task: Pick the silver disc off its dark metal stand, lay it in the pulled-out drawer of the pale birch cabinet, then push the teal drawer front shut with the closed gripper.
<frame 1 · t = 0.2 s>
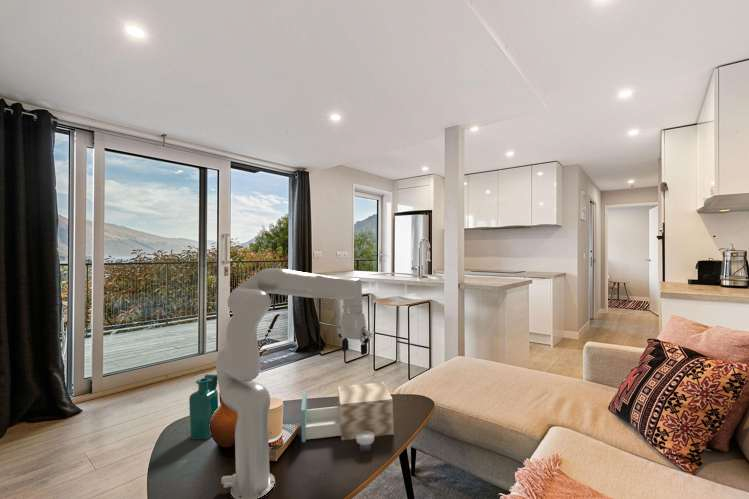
hand: (354, 352, 138), 31 cm above the table, tool pointing down, fingers open, 9 cm apart
disc: (365, 439, 123), point 3 cm above the table, touching stand
cabinet: (364, 425, 141), on the table
teal bottle vase: (206, 434, 138), on the table
stand: (365, 449, 123), on the table
drawer: (328, 412, 138), point 7 cm above the table, slide at 13.0 cm
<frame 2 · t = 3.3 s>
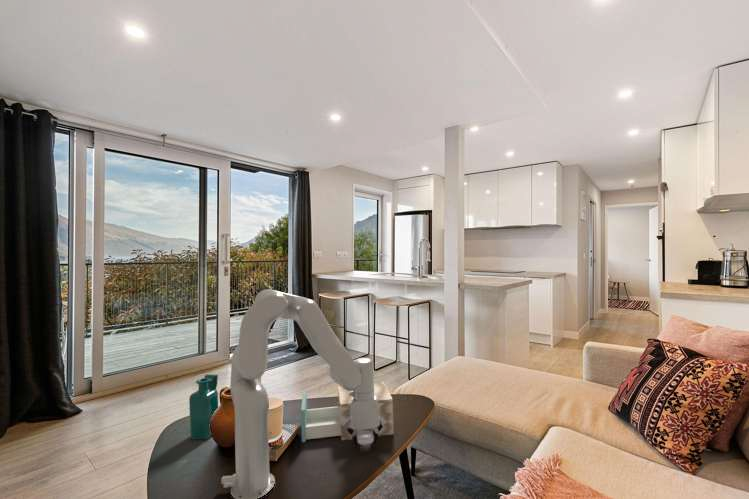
hand: (365, 444, 123), 2 cm above the table, tool pointing down, fingers closed on disc, 6 cm apart
disc: (365, 439, 123), point 4 cm above the table, touching gripper, stand
everything else where it was.
when the fingers open (2 cm above the table, at t = 10.8 s): disc drops 2 cm, resting on drawer.
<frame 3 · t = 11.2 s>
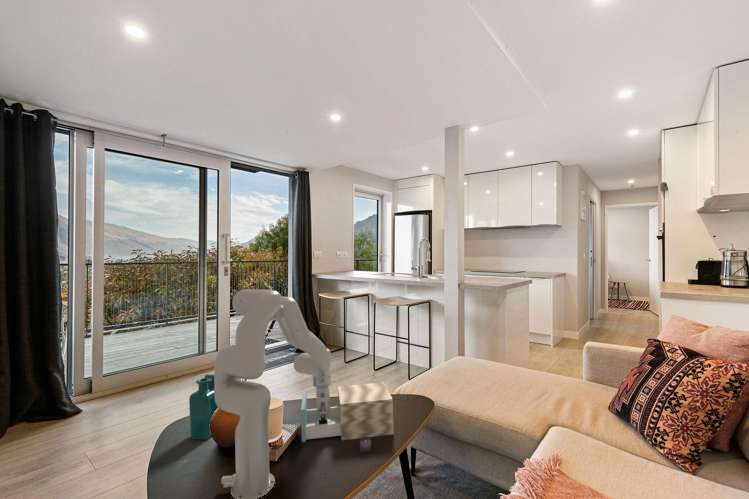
hand: (323, 423, 138), 3 cm above the table, tool pointing down, fingers open, 9 cm apart
disc: (323, 426, 138), point 2 cm above the table, touching drawer
drawer: (328, 412, 138), point 7 cm above the table, slide at 13.0 cm, touching disc
everything else where it was.
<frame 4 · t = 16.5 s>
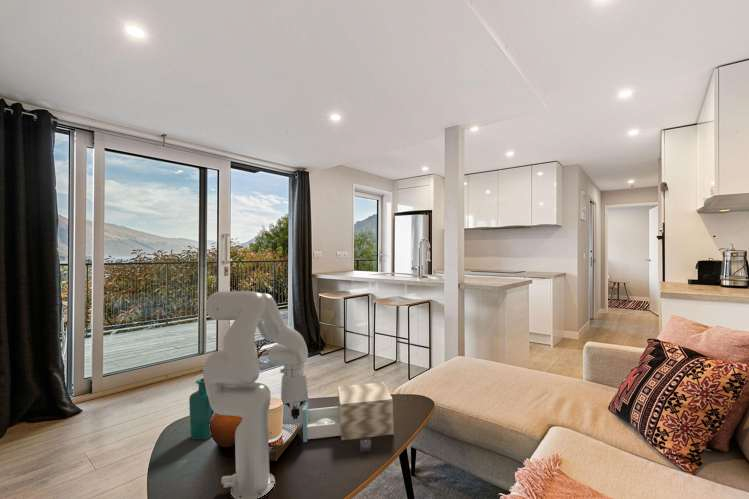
hand: (295, 417, 136), 6 cm above the table, tool pointing down, fingers closed
drawer: (329, 412, 138), point 7 cm above the table, slide at 12.5 cm, touching disc, gripper
everything else where it was.
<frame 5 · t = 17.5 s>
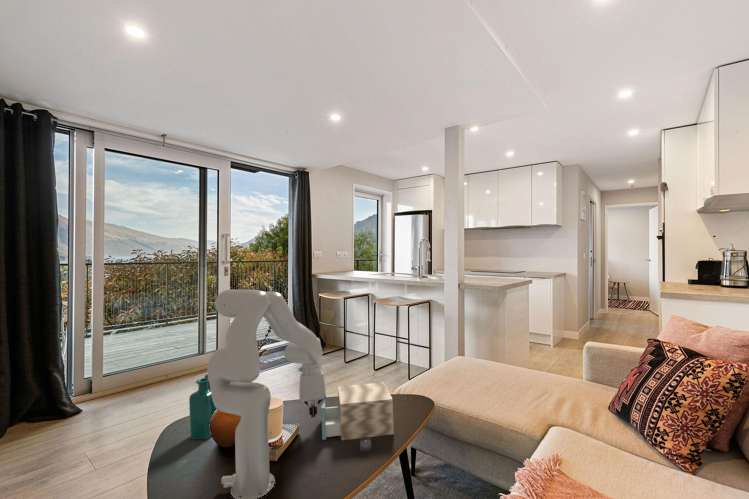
hand: (313, 415, 137), 6 cm above the table, tool pointing down, fingers closed
disc: (342, 424, 139), point 2 cm above the table, touching drawer
drawer: (346, 410, 139), point 7 cm above the table, slide at 5.5 cm, touching disc, gripper
everything else where it was.
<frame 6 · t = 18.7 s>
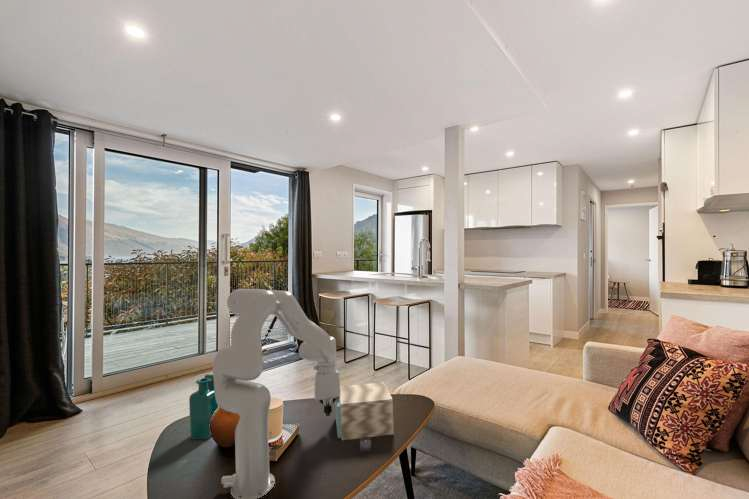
hand: (327, 414, 138), 6 cm above the table, tool pointing down, fingers closed
disc: (356, 422, 140), point 2 cm above the table, touching drawer
drawer: (360, 409, 140), point 7 cm above the table, slide at -0.2 cm, touching cabinet, disc, gripper
everything else where it was.
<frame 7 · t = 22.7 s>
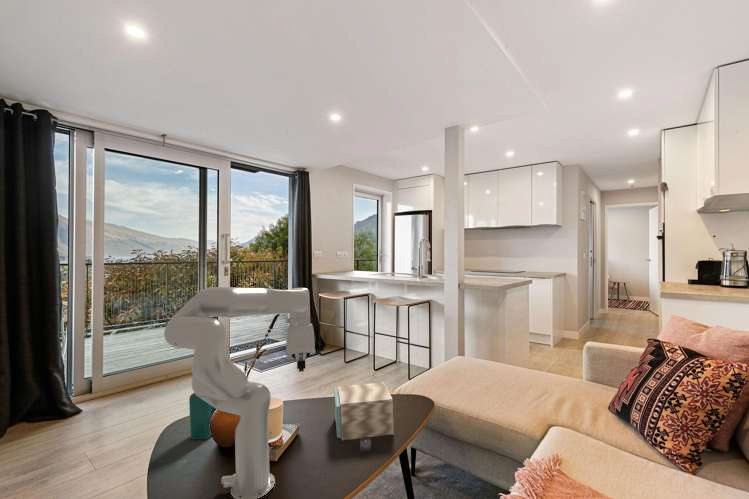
hand: (301, 370, 129), 27 cm above the table, tool pointing down, fingers closed
drawer: (360, 409, 140), point 7 cm above the table, slide at 0.0 cm, touching disc
everything else where it was.
at the end: drawer slide at 0.0 cm; disc inside the target area (2.6 cm from its centre), point 1.7 cm above the table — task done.
